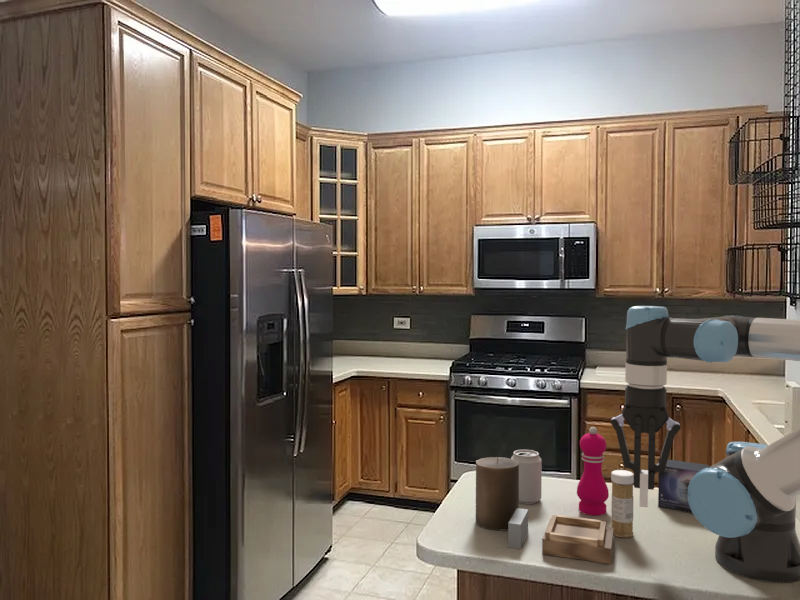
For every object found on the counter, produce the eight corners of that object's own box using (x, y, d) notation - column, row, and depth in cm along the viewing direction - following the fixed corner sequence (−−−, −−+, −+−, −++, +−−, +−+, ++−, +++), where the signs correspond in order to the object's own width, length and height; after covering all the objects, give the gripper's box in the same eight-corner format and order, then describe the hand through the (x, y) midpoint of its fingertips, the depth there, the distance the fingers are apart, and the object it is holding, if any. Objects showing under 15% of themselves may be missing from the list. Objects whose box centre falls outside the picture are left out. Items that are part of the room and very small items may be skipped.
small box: (657, 508, 152) (657, 464, 152) (661, 499, 158) (661, 457, 158) (705, 516, 147) (706, 471, 147) (708, 507, 153) (709, 464, 152)
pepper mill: (610, 517, 146) (611, 431, 145) (577, 515, 148) (578, 429, 147) (606, 506, 153) (607, 424, 153) (575, 504, 155) (576, 422, 154)
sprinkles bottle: (625, 529, 139) (626, 468, 139) (637, 537, 135) (638, 474, 135) (606, 531, 138) (607, 469, 138) (618, 539, 134) (618, 476, 134)
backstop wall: (528, 532, 138) (528, 509, 138) (520, 548, 130) (520, 524, 129) (516, 530, 139) (516, 508, 139) (508, 547, 130) (508, 522, 130)
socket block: (613, 541, 133) (613, 521, 132) (610, 564, 122) (611, 542, 122) (550, 533, 137) (550, 513, 137) (542, 553, 127) (542, 532, 127)
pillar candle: (518, 532, 138) (518, 463, 138) (472, 528, 140) (473, 460, 140) (519, 516, 147) (520, 452, 147) (477, 513, 149) (477, 449, 149)
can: (522, 492, 163) (522, 446, 163) (547, 500, 158) (547, 452, 157) (504, 499, 158) (504, 451, 158) (529, 507, 153) (529, 458, 152)
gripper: (681, 384, 125) (678, 502, 126) (611, 380, 130) (609, 494, 131) (683, 390, 118) (680, 515, 119) (609, 386, 123) (607, 506, 124)
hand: (643, 504), depth 125 cm, fingers closed
